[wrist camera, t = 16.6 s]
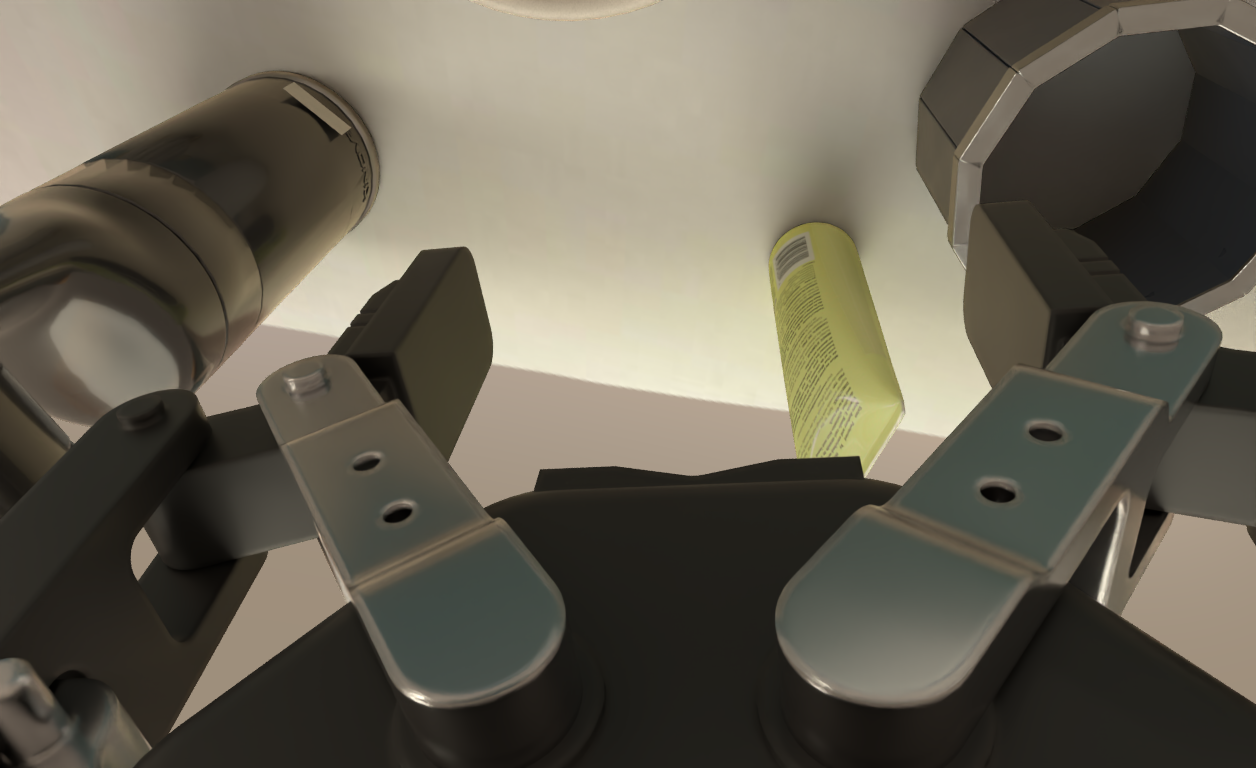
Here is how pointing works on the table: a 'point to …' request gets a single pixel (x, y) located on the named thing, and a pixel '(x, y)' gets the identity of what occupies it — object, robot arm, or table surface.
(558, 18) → the planter
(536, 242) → the table surface
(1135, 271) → the pail
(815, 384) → the yellow elongated tapered cylinder
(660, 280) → the table surface
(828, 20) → the table surface
